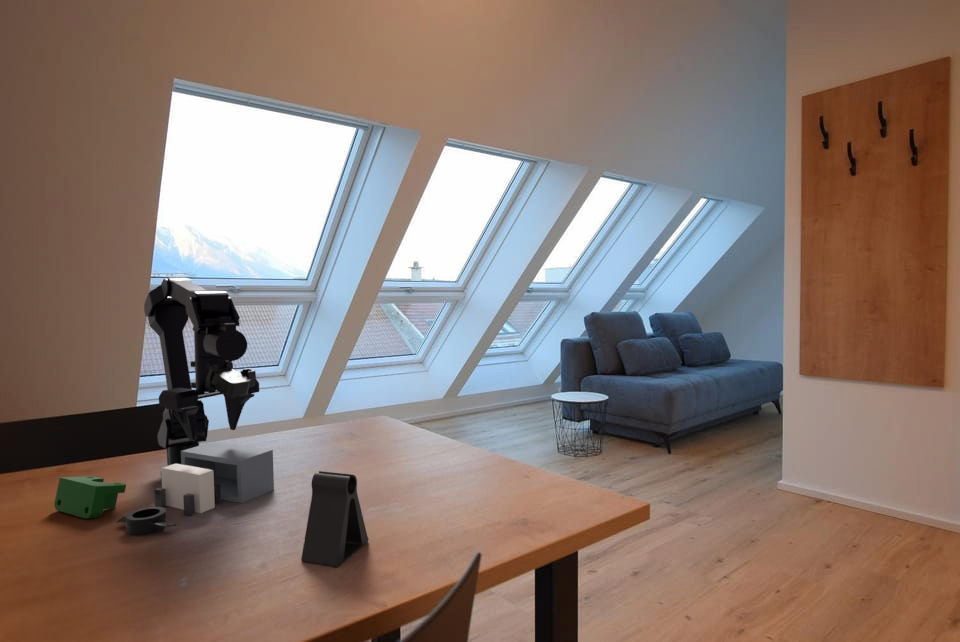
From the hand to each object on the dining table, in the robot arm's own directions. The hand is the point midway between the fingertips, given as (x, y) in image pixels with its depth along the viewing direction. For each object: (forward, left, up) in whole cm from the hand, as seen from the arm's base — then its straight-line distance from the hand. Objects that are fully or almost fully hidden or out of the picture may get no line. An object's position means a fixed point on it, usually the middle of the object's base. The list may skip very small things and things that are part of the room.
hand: (213, 435), depth 117 cm
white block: (+2, -8, -11) cm, 14 cm away
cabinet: (+2, +1, -11) cm, 11 cm away
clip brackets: (+2, -8, -11) cm, 14 cm away
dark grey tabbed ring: (+5, -18, -12) cm, 22 cm away
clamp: (-12, -16, -12) cm, 23 cm away
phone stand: (+39, -12, -11) cm, 42 cm away
